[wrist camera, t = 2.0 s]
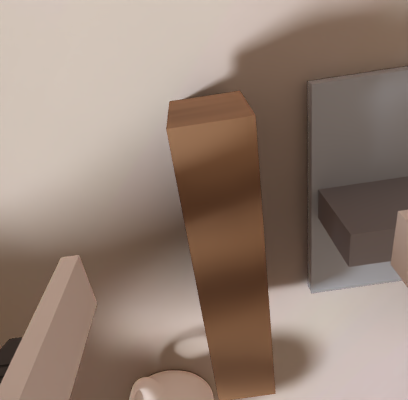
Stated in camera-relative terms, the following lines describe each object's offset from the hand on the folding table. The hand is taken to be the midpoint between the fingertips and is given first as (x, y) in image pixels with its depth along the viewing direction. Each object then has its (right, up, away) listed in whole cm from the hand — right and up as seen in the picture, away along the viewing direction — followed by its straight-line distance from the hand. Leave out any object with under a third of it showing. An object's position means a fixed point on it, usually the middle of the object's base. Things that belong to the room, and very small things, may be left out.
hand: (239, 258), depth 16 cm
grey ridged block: (+12, +3, +13) cm, 18 cm away
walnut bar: (0, 0, +10) cm, 10 cm away
